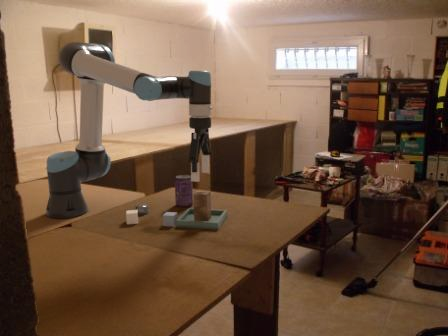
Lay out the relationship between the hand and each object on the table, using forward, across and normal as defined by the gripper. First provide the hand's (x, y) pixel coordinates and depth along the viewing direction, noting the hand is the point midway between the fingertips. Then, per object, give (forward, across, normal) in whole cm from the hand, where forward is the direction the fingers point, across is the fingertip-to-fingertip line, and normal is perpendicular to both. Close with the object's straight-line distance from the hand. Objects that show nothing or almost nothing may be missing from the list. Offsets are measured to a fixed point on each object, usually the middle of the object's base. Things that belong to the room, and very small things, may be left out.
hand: (200, 176), depth 153 cm
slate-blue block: (+17, -5, +10) cm, 20 cm away
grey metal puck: (+17, +6, +25) cm, 31 cm away
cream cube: (+17, -5, +24) cm, 30 cm away
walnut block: (+16, 0, -1) cm, 16 cm away
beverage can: (+17, +19, +12) cm, 28 cm away
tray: (+16, 0, -1) cm, 17 cm away
